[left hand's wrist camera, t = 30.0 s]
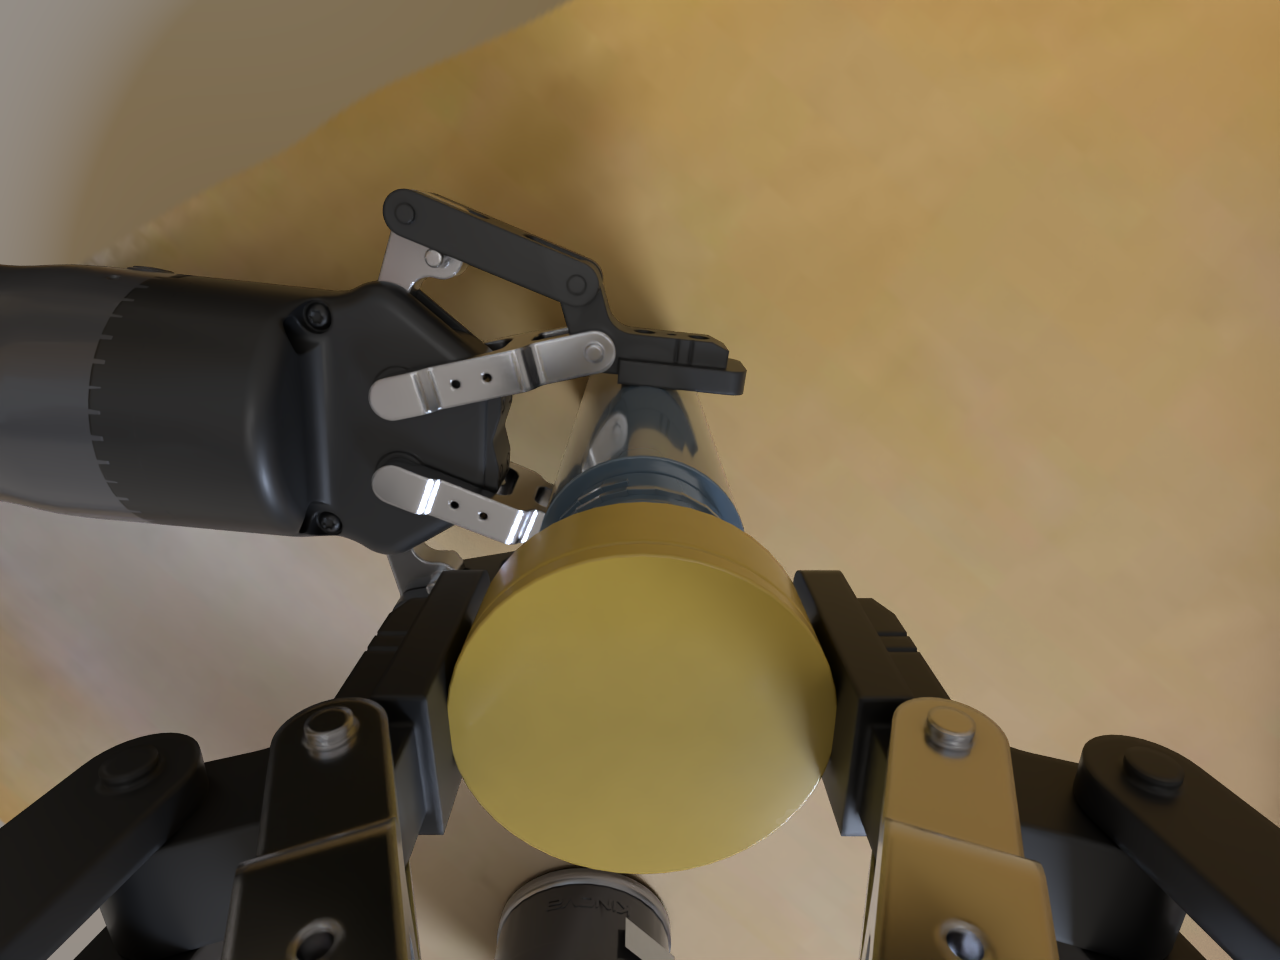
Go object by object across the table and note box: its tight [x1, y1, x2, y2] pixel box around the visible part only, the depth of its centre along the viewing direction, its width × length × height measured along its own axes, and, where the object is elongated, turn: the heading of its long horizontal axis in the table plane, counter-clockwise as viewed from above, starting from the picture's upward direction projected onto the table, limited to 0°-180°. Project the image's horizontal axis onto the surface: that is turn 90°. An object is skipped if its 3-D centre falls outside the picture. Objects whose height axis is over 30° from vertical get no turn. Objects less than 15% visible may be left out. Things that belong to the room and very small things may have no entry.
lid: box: [447, 502, 837, 874], centre depth 10 cm, size 5×5×2 cm
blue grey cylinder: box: [539, 373, 744, 532], centre depth 20 cm, size 4×4×16 cm
